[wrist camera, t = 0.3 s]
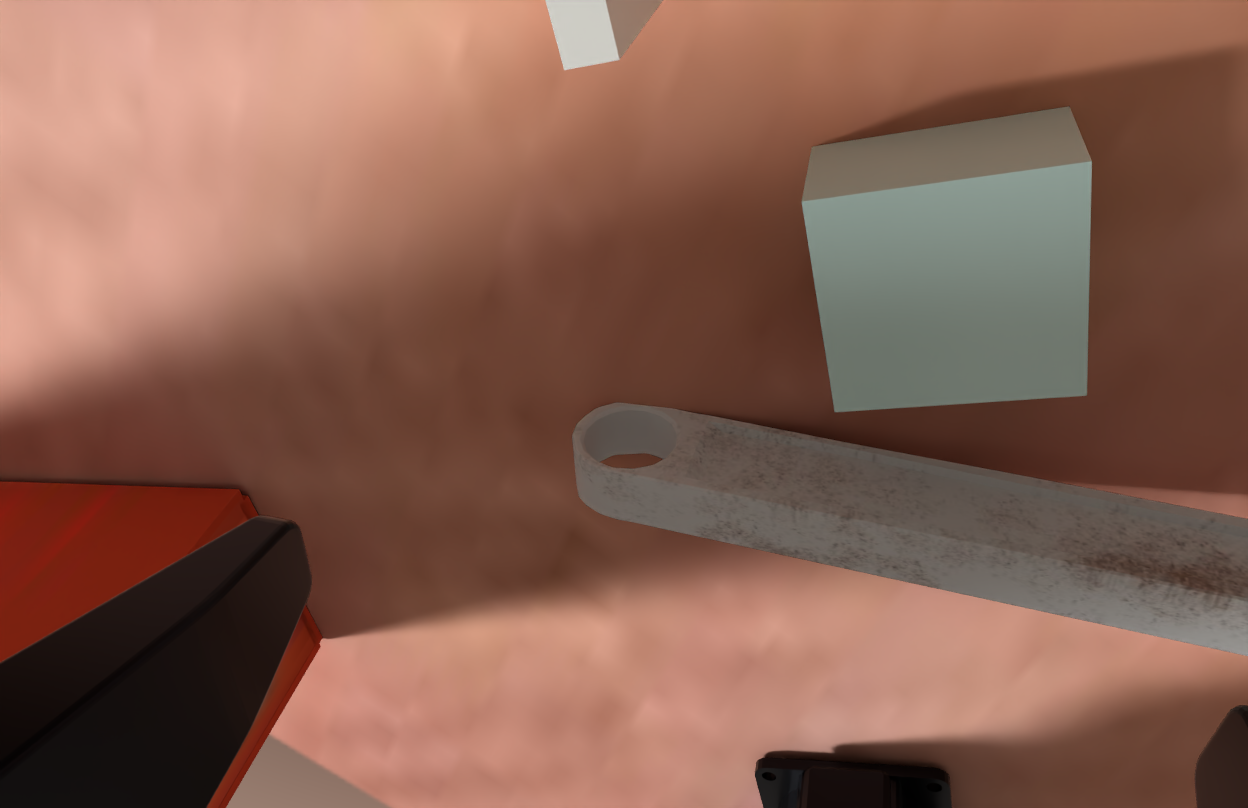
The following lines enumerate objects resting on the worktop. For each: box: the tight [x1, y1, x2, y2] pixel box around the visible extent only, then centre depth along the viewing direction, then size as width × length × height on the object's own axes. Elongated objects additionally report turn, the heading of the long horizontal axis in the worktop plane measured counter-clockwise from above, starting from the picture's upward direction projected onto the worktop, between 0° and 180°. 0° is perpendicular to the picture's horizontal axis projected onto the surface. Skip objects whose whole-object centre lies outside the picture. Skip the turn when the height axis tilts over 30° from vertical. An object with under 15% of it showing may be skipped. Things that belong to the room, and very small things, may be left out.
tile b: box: [802, 106, 1092, 412], centre depth 20 cm, size 5×5×3 cm
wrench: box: [572, 402, 1248, 656], centre depth 21 cm, size 8×2×30 cm
